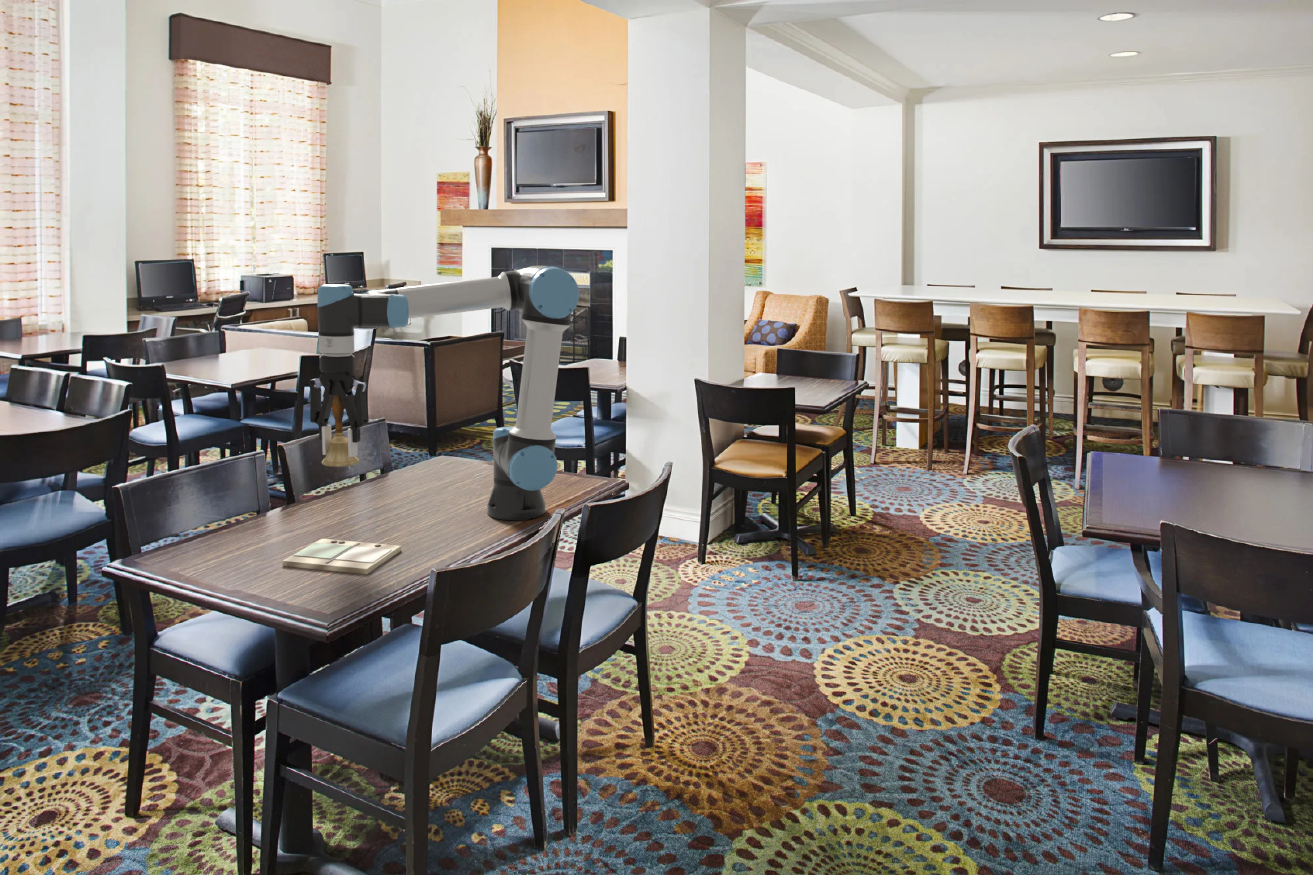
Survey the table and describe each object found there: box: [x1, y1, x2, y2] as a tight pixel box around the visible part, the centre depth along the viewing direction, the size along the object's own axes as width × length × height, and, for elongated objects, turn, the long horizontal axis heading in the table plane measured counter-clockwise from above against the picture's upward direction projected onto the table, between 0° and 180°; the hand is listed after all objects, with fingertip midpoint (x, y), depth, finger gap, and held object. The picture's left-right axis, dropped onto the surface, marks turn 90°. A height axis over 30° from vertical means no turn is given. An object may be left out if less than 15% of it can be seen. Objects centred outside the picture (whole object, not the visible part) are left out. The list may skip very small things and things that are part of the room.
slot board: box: [281, 538, 402, 575], centre depth 215 cm, size 20×16×1 cm
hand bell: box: [321, 395, 360, 468], centre depth 219 cm, size 8×8×16 cm
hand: (340, 454), depth 220 cm, fingers closed on hand bell, 6 cm apart
